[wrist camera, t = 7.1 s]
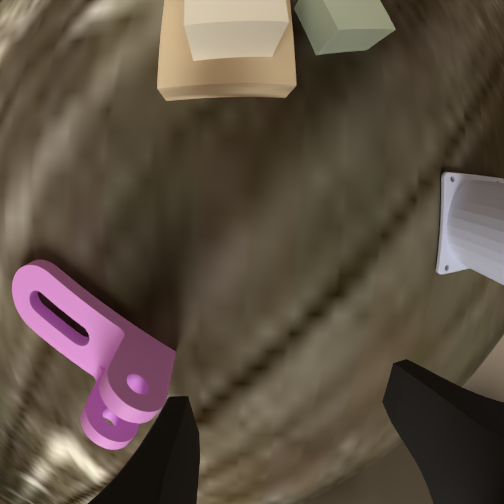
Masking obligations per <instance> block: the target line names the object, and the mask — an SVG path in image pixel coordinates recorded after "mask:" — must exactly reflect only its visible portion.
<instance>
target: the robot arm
mask: <svg viewBox="0 0 504 504" xmlns="http://www.w3.org/2000/svg"><path fill="white" fill-rule="evenodd" d="M445 266H446V268H445ZM469 268H470V269H472V270H474V271H477V272H479V273H481V274H483V275H485V276H487V277H489V278H491V279H493V280H495V281H497V282H499V283H500V284H502V285H504V179H502V178H496V177H488V176H480V175H472V174H463V173H453V172H444V173H443V174H442V177H441V220H440V236H439V247H438V257H437V265H436V271H437V273H439V274H446V273H451V272H456V271H460V270H465V269H469ZM382 402H383V404H384V407H385V409H386V411H387V414H388V416H389V418H390V420H391V422H392V424H393V426H394V427H395V429H396V431H397V432H398V434H399V435H400V437H401V439H402V440H403V442H404V443H405V445H406V447H407V448H408V450H409V451H410V453H411V455H412V456H413V458H414V459H415V461H416V463H417V464H418V466H419V468H420V470H421V472H422V475H423V477H424V479H425V481H426V484H427V486H428V489H429V492H430V495H431V497H432V500H433V503H434V504H504V402H499V401H496V400H493V399H490V398H487V397H484V396H481V395H478V394H476V393H474V392H471V391H469V390H467V389H464V388H462V387H460V386H458V385H456V384H454V383H452V382H450V381H448V380H446V379H444V378H442V377H440V376H438V375H436V374H434V373H432V372H431V371H429V370H427V369H425V368H423V367H421V366H419V365H417V364H415V363H413V362H411V361H409V360H407V359H406V360H402V361H399V362H396V363H393V366H392V370H391V374H390V378H389V381H388V385H387V388H386V392H385V395H384V398H383V401H382ZM199 464H200V443H199V431H198V428H197V425H196V422H195V418H194V415H193V412H192V408H191V405H190V401H189V398H188V396H177V397H169V398H168V399H167V401H166V403H165V405H164V407H163V409H162V410H161V412H160V414H159V416H158V417H157V419H156V421H155V423H154V424H153V426H152V428H151V429H150V431H149V432H148V434H147V435H146V437H145V438H144V440H143V442H142V443H141V445H140V446H139V447H138V449H137V450H136V452H135V453H134V454H133V456H132V457H131V458H130V460H129V461H128V462H127V464H126V465H125V466H124V467H123V469H122V470H121V471H120V472H119V473H118V474H117V476H116V477H115V478H114V479H113V480H112V481H111V482H110V483H109V484H108V485H107V486H106V487H105V488H104V489H103V490H102V491H101V492H100V493H99V494H98V495H97V496H96V497H95V498H94V499H92V500H91V501H90V502H89V503H88V504H196V501H197V488H198V476H199Z"/></svg>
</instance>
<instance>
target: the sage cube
mask: <svg viewBox="0 0 504 504" xmlns="http://www.w3.org/2000/svg"><path fill="white" fill-rule="evenodd" d="M294 10H295V12H296V14H297V16H298V18H299V20H300V22H301V24H302V26H303V28H304V30H305V32H306V34H307V37H308V39H309V41H310V43H311V45H312V48H313V50H314V52H315V54H316V55H321V54H329V53H339V52H349V51H364V50H368V49H369V48H371V47H372V46H373V45H375V44H376V43H377V42H379V41H380V40H382V39H383V38H384V37H386V36H387V35H389V34H390V33H392V32H393V31H395V30H396V29H395V27H394V25H393V23H392V21H391V19H390V17H389V16H388V14H387V12H386V10H385V8H384V7H383V5H382V3H381V1H380V0H298V2H297V4H296V6H295V8H294Z"/></svg>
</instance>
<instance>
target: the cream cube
mask: <svg viewBox="0 0 504 504" xmlns="http://www.w3.org/2000/svg"><path fill="white" fill-rule="evenodd" d="M288 23H289V18H288V12H287V6H286V0H184V27H185V31H186V35H187V39H188V43H189V46H190V50H191V54H192V58H193V61H198V60H208V59H220V58H236V57H272V56H273V54H274V52H275V50H276V48H277V46H278V44H279V41H280V39H281V37H282V35H283V33H284V31H285V29H286V27H287V25H288Z"/></svg>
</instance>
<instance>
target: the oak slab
mask: <svg viewBox="0 0 504 504" xmlns="http://www.w3.org/2000/svg"><path fill="white" fill-rule="evenodd" d="M286 6H287V12H288V18H289V23H288V25H287V27H286V29H285V31H284V33H283V35H282V37H281V39H280V41H279V44H278V46H277V48H276V50H275V52H274V54H273V56H272V57H236V58H220V59H208V60H198V61H193V58H192V54H191V50H190V46H189V43H188V39H187V35H186V31H185V27H184V0H165V2H164V10H163V18H162V27H161V37H160V49H159V64H158V83H157V89H158V90H159V92H160V93H161V94H162V96H163V97H164V98H165V100H166V101H172V100H182V99H195V98H213V97H279V98H286V97H287V96H288V94H289V93H290V92H291V91H292V90H293V89H294V88H295V87H296V68H295V53H294V39H293V27H292V16H291V6H290V0H286Z"/></svg>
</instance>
